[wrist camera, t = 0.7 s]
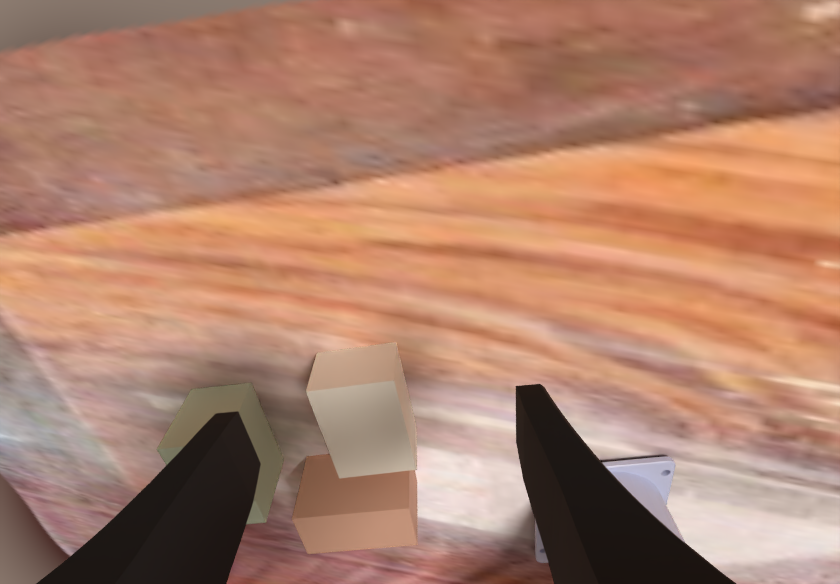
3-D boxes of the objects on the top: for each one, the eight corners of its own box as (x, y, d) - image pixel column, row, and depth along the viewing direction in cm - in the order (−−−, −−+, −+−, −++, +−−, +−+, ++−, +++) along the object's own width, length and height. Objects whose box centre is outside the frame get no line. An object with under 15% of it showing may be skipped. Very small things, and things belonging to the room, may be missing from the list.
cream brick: (416, 424, 26) (416, 469, 24) (346, 433, 27) (339, 478, 24) (396, 339, 23) (394, 380, 21) (317, 349, 24) (305, 391, 21)
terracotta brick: (409, 444, 27) (409, 508, 24) (417, 480, 29) (417, 544, 25) (307, 454, 27) (291, 518, 24) (320, 489, 29) (307, 554, 26)
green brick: (284, 458, 28) (265, 522, 24) (231, 463, 28) (205, 528, 24) (251, 381, 24) (225, 442, 21) (192, 387, 25) (156, 449, 21)
